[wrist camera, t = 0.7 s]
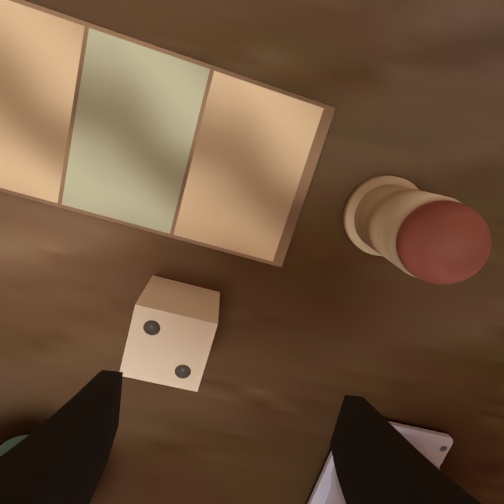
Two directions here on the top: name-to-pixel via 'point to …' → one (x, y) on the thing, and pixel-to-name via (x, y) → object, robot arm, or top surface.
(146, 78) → the board
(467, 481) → the top surface
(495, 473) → the top surface
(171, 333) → the die
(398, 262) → the pawn
